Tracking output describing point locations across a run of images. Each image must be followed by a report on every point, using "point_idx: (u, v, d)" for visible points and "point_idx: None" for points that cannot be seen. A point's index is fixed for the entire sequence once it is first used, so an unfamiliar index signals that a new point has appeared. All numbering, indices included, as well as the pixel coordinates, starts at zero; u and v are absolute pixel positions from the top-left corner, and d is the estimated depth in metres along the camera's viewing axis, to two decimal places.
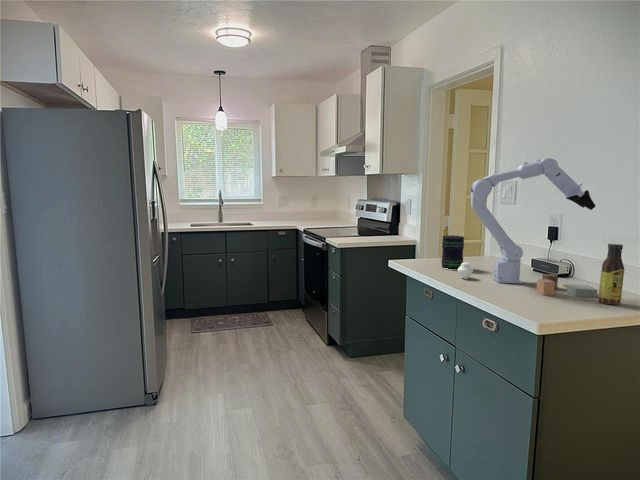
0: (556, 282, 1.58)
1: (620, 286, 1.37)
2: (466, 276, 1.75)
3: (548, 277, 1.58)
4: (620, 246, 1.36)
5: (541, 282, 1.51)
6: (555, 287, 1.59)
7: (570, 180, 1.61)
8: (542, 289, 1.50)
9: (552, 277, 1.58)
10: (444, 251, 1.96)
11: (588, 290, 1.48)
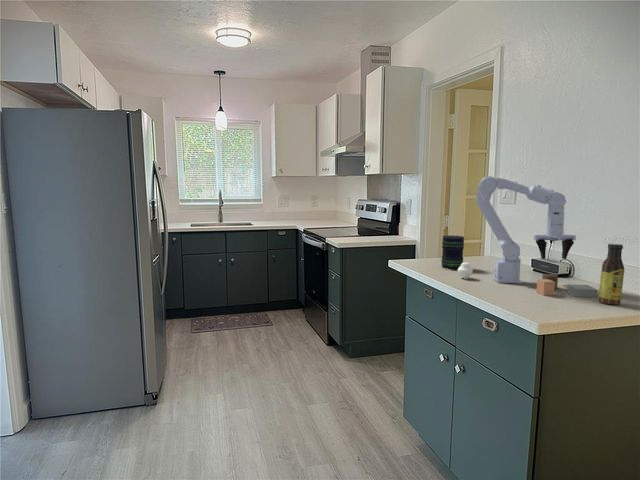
0: (556, 282, 1.58)
1: (620, 286, 1.37)
2: (466, 276, 1.75)
3: (548, 277, 1.58)
4: (620, 246, 1.36)
5: (541, 282, 1.51)
6: (555, 287, 1.59)
7: (550, 225, 1.61)
8: (542, 289, 1.50)
9: (552, 277, 1.58)
10: (444, 251, 1.96)
11: (588, 290, 1.48)
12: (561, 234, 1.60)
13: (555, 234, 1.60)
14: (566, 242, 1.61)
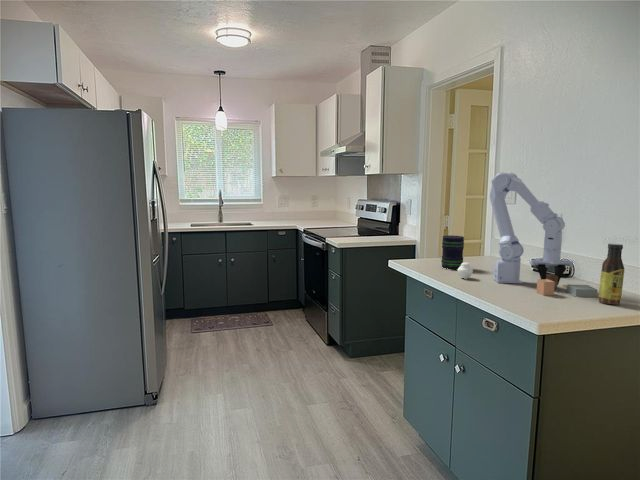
0: (556, 282, 1.58)
1: (620, 286, 1.37)
2: (466, 276, 1.75)
3: (548, 277, 1.58)
4: (620, 246, 1.36)
5: (541, 282, 1.51)
6: (555, 287, 1.59)
7: (547, 251, 1.58)
8: (542, 289, 1.50)
9: (552, 277, 1.58)
10: (444, 251, 1.96)
11: (588, 290, 1.48)
12: (558, 260, 1.57)
13: (552, 260, 1.57)
14: (558, 268, 1.58)
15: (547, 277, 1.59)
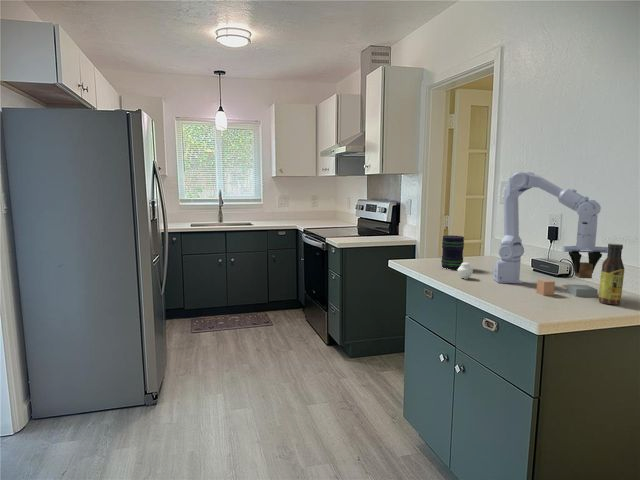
0: (591, 270, 1.48)
1: (620, 286, 1.37)
2: (466, 276, 1.75)
3: (582, 265, 1.49)
4: (620, 246, 1.36)
5: (541, 282, 1.51)
6: (590, 276, 1.49)
7: (581, 236, 1.48)
8: (542, 289, 1.50)
9: (587, 265, 1.48)
10: (444, 251, 1.96)
11: (588, 290, 1.48)
12: (593, 246, 1.47)
13: (586, 246, 1.47)
14: (593, 255, 1.48)
15: (581, 265, 1.49)
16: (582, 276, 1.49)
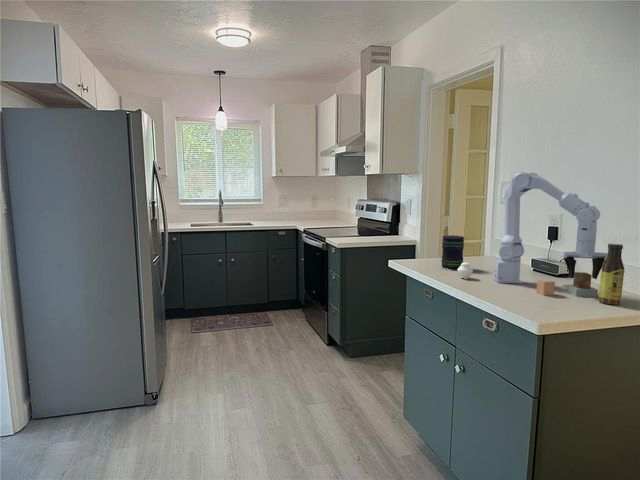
0: (589, 281, 1.49)
1: (620, 286, 1.37)
2: (466, 276, 1.75)
3: (581, 276, 1.49)
4: (620, 246, 1.36)
5: (541, 282, 1.51)
6: (588, 286, 1.49)
7: (581, 242, 1.48)
8: (542, 289, 1.50)
9: (585, 276, 1.49)
10: (444, 251, 1.96)
11: (588, 290, 1.48)
12: (592, 252, 1.47)
13: (586, 252, 1.47)
14: (597, 261, 1.48)
15: (580, 276, 1.49)
16: (581, 286, 1.49)
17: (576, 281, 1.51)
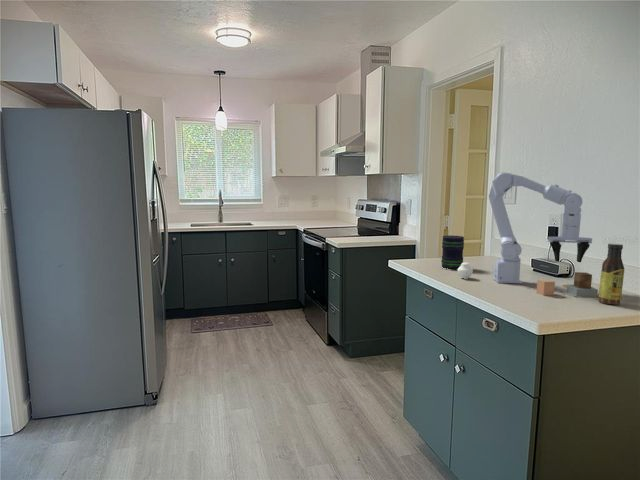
0: (590, 281, 1.49)
1: (620, 286, 1.37)
2: (466, 276, 1.75)
3: (582, 275, 1.49)
4: (620, 246, 1.36)
5: (541, 282, 1.51)
6: (589, 286, 1.49)
7: (566, 227, 1.56)
8: (542, 289, 1.50)
9: (586, 275, 1.49)
10: (444, 251, 1.96)
11: (589, 290, 1.48)
12: (577, 236, 1.55)
13: (570, 236, 1.55)
14: (582, 245, 1.56)
15: (580, 276, 1.49)
16: (581, 286, 1.49)
17: (577, 281, 1.51)
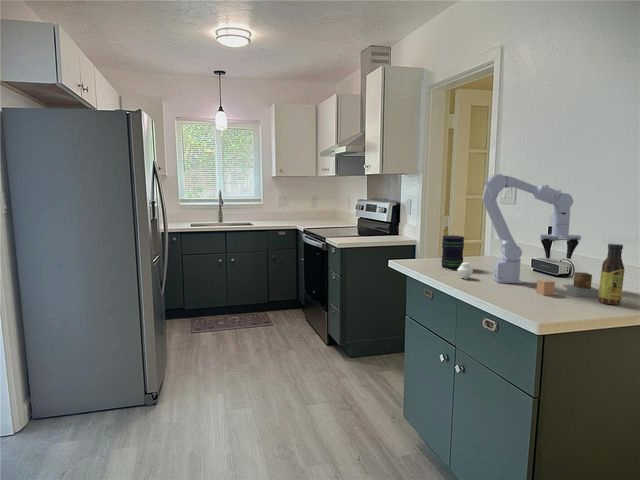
0: (590, 281, 1.49)
1: (620, 286, 1.37)
2: (466, 276, 1.75)
3: (582, 276, 1.49)
4: (620, 246, 1.36)
5: (541, 282, 1.51)
6: (589, 286, 1.49)
7: (556, 225, 1.63)
8: (542, 289, 1.50)
9: (586, 275, 1.49)
10: (444, 251, 1.96)
11: (589, 290, 1.48)
12: (566, 234, 1.62)
13: (560, 234, 1.62)
14: (571, 242, 1.63)
15: (580, 276, 1.49)
16: (581, 286, 1.49)
17: (577, 281, 1.51)
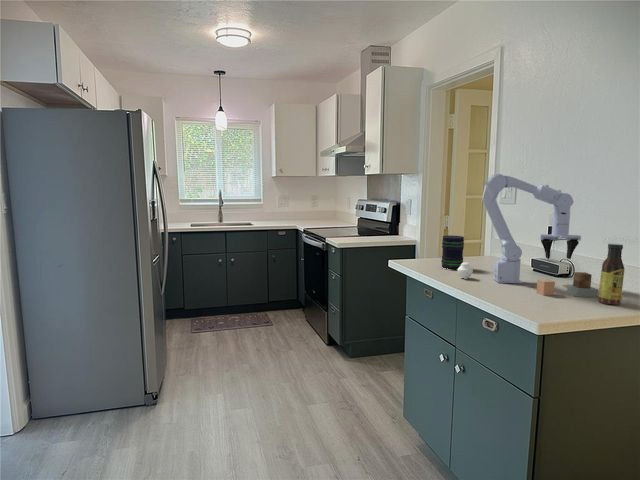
0: (589, 281, 1.49)
1: (620, 286, 1.37)
2: (466, 276, 1.75)
3: (581, 275, 1.49)
4: (620, 246, 1.36)
5: (541, 282, 1.51)
6: (588, 286, 1.49)
7: (556, 225, 1.63)
8: (542, 289, 1.50)
9: (585, 275, 1.49)
10: (444, 251, 1.96)
11: (589, 290, 1.48)
12: (566, 234, 1.62)
13: (560, 234, 1.62)
14: (571, 242, 1.63)
15: (580, 276, 1.49)
16: (581, 286, 1.50)
17: (576, 281, 1.51)
